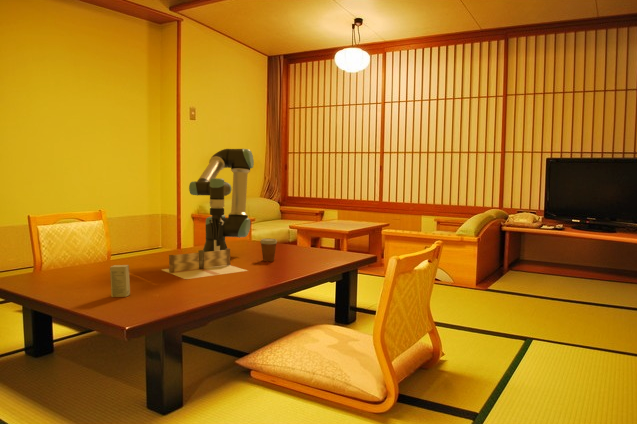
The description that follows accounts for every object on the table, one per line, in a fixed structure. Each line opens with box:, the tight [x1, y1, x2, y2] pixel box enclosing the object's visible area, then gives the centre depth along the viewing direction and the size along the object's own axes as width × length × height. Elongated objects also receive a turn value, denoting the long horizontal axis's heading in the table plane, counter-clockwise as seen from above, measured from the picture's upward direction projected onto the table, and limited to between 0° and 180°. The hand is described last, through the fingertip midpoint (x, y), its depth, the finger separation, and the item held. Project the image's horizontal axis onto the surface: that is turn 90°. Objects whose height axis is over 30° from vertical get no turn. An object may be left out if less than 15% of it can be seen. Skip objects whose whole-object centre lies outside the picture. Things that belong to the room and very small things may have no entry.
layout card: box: [161, 264, 249, 280], centre depth 252 cm, size 28×34×1 cm
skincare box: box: [109, 264, 131, 298], centre depth 200 cm, size 6×4×12 cm
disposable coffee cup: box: [260, 238, 278, 262], centre depth 284 cm, size 10×10×12 cm
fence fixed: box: [168, 249, 203, 274], centre depth 250 cm, size 18×2×9 cm, turn 130°
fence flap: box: [203, 247, 231, 268], centre depth 260 cm, size 15×2×9 cm, turn 130°
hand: (216, 251), depth 266 cm, fingers closed
